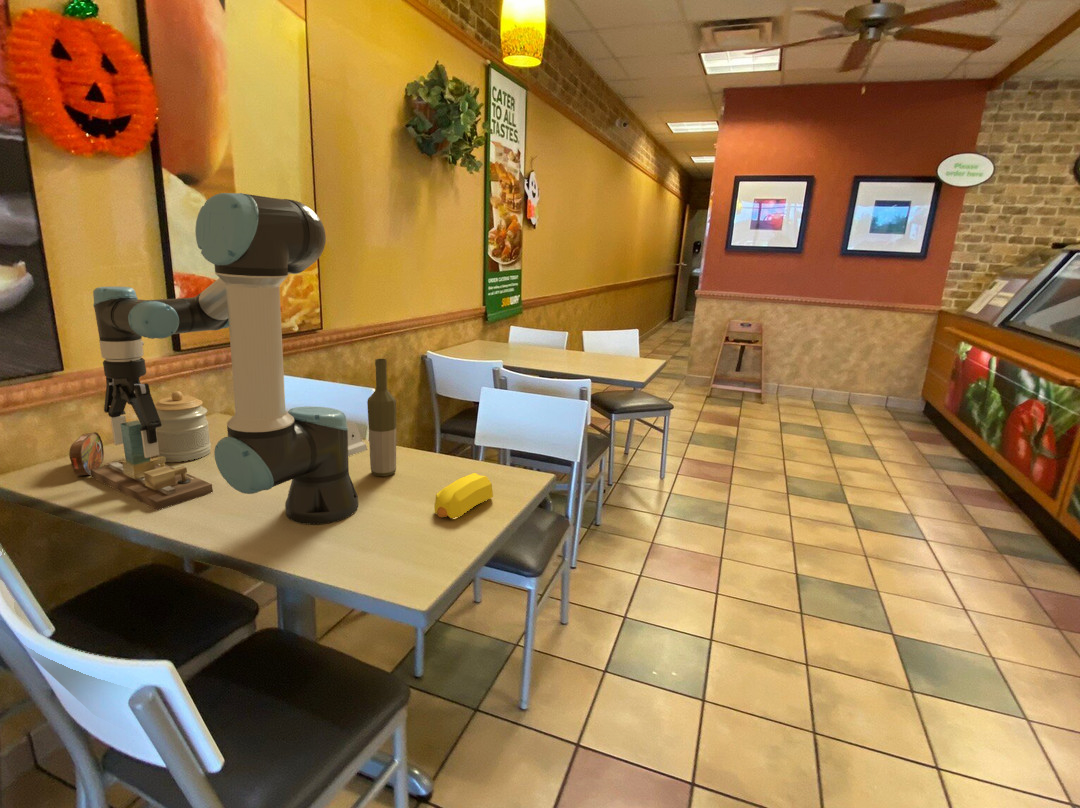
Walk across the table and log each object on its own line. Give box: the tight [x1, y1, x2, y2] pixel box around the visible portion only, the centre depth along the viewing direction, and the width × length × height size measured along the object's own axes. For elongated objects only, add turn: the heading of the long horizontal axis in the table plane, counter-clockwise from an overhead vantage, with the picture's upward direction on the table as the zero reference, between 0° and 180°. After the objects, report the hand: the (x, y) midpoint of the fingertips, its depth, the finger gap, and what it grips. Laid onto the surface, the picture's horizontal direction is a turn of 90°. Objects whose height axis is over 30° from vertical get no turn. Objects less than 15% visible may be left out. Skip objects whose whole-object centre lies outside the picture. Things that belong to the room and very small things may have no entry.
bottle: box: [366, 358, 397, 477], centre depth 145 cm, size 7×7×30 cm
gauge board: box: [90, 457, 214, 511], centre depth 135 cm, size 30×12×6 cm, turn 59°
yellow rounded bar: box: [433, 472, 494, 519], centre depth 132 cm, size 18×7×8 cm
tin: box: [68, 431, 105, 477], centre depth 142 cm, size 15×3×8 cm, turn 22°
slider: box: [120, 419, 167, 479], centre depth 133 cm, size 5×8×13 cm, turn 149°
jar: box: [154, 390, 212, 463], centre depth 153 cm, size 13×13×18 cm
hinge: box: [346, 422, 368, 457], centre depth 160 cm, size 17×5×10 cm, turn 150°
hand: (136, 449), depth 132 cm, fingers open, 13 cm apart
